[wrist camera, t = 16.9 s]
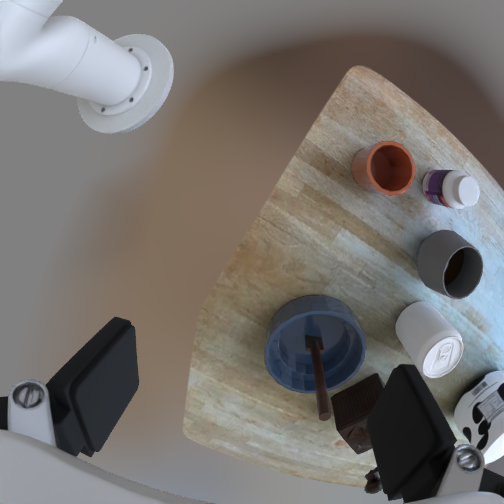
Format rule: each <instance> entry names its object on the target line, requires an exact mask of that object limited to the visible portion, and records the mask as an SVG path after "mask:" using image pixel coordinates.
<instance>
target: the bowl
mask: <svg viewBox="0 0 504 504" xmlns="http://www.w3.org/2000/svg"><path fill="white" fill-rule="evenodd" d="M305 335H309V336H317V337H322V341H323V346H324V353H323V354H321V353H320V354H321V359H322V364H323V370H324V376H325V381H326V387H327V391H329V390H333V389H335V388H337V387H339V386H341V385H342V384H344V383H346V382H347V381H348V380H349V379H351V378H352V377H353V376H354V375H355V374H356V373H357V372H358V370H359V368H360V367H361V365H362V363H363V361H364V358H365V353H366V348H367V347H366V341H365V335H364V333H363V331H362V329H361V327H360V325H359V323H358V321H357V319H356V317H355V315H354V314H353V312H352V311H351V309H350V308H349V307H348V306H346V305H345V304H344V303H342V302H341V301H340V300H338V299H334V298H331V297H328V296H324V295H309V296H305V297H302V298H298V299H295V300H293V301H291V302H290V303H288V304H286V305H285V306H283V307H282V308H280V310H279V311H278V312H277V313H276V314H275V316H274V317H273V318H272V319H271V322H270V324H269V327H268V329H267V334H266V342H265V364H266V367H267V369H268V372H269V374H270V375H271V376H272V377H273V378H274V379H275V381H276V382H277V383H278V384H280V385H282V386H283V387H285V388H287V389H289V390H292V391H296V392H300V393H316V389H315V380H314V373H313V365H312V357H311V352H306V347H305V339H304V338H305Z"/></svg>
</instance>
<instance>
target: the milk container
mask: <svg viewBox="0 0 504 504" xmlns="http://www.w3.org/2000/svg"><path fill="white" fill-rule="evenodd" d="M454 420H455V423H456V426H457V428H458V430H459V431H460V432H461V433H462V434H463V435H464V436H465V437H466V438H467V439H468V440H469V442H470V444H471V445H473V446H475V447H476V448H478V449H479V450H480V451H481V453H482V454H483V456H484V459H485V464H488V463H491V462H493V461H495V460H497V459H499V458H500V457H502V456H503V455H504V372H502V371H493V372H490V373H488V374H485V375H484V376H482V377H481V378H479V379H478V380H476V381H475V382H474V383H473V384H472V385H471V386H470V387H469V388H468V389H467V390H466V392H465V393H464V394H463V395H462V396H461V398H460V400H459V401H458V403H457V405H456V407H455V411H454Z"/></svg>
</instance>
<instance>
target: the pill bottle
mask: <svg viewBox="0 0 504 504" xmlns="http://www.w3.org/2000/svg"><path fill="white" fill-rule="evenodd" d="M423 192H424V195H425V197H426V198H427V200H428V201H430V202H431V203H433V204H437V205H441V206H445V207H450V208H454V209H462V208H464V207H466V206H468V207H470V206H473V205H474V204H476V202H477V201H478V198H479V186H478V183H477V181H476V180H475V179H474V178H473V177H471V176H467V175H466V174H465V173H464V172H462V171H458V170H432V171H430V172H428V173H427V174H426V176H425V177H424V180H423Z"/></svg>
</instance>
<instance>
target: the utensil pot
mask: <svg viewBox="0 0 504 504" xmlns="http://www.w3.org/2000/svg"><path fill="white" fill-rule="evenodd" d="M351 172H352V176H353V178H354V180H355V182H356V183H357V184H358V185H359V186H360V187H361V188H362V189H364V190H366V191H370V192H373V193H379V194H384V195H389V196H392V195H399V194H402V193H403V192H405V191H406V190H407V189H409V188H410V186H411V184H412V182H413V180H414V177H415V164H414V161H413V158H412V155H411V153H410V152H409V151H408V150H407V149H406V148H405V147H404V146H403V145H401V144H399V143H397V142H394V141H382V142H379V143H376V144H373V145H370V146H367V147H365V148H363V149H361V150H360V151H358V152H357V153H356V155H355V156H354V158H353V160H352V164H351Z"/></svg>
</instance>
